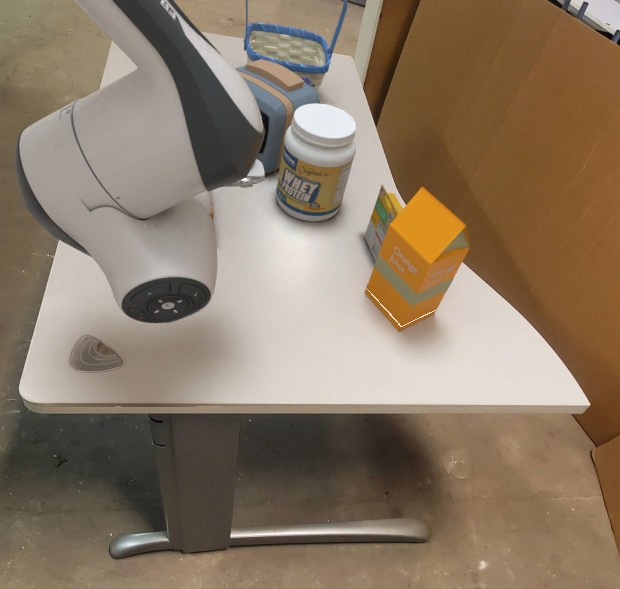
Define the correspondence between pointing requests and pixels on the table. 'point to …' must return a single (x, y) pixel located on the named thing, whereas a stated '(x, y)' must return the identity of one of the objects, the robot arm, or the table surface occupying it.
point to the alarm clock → (275, 104)
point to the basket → (292, 48)
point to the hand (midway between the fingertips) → (161, 110)
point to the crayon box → (381, 220)
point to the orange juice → (417, 260)
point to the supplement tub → (316, 162)
